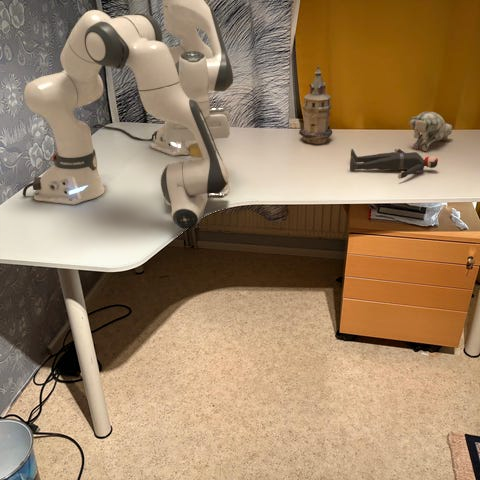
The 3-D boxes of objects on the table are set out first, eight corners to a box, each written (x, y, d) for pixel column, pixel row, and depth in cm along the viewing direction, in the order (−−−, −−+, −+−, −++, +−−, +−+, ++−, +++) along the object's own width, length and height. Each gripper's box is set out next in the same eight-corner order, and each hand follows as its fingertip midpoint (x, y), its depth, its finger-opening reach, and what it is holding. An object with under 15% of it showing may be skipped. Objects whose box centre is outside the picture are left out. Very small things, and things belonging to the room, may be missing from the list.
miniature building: (320, 132, 228) (325, 59, 214) (338, 142, 217) (344, 66, 203) (293, 137, 224) (296, 63, 209) (310, 147, 213) (314, 69, 198)
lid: (192, 149, 171) (192, 142, 170) (208, 150, 170) (208, 143, 169) (187, 155, 166) (186, 148, 165) (203, 156, 165) (203, 149, 164)
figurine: (439, 162, 206) (463, 135, 215) (427, 119, 197) (453, 93, 206) (416, 162, 213) (441, 135, 222) (404, 120, 204) (430, 94, 213)
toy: (351, 141, 203) (434, 141, 197) (350, 156, 206) (432, 157, 200) (349, 166, 181) (443, 167, 175) (349, 183, 184) (441, 185, 178)
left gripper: (227, 186, 159) (231, 168, 171) (159, 185, 160) (168, 168, 172) (228, 205, 162) (231, 187, 174) (161, 204, 163) (169, 186, 175)
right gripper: (228, 104, 165) (229, 147, 172) (161, 108, 163) (165, 151, 169) (231, 109, 160) (232, 153, 167) (162, 114, 157) (166, 158, 164)
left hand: (199, 177), depth 173 cm, fingers closed on jar, 5 cm apart
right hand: (197, 152), depth 168 cm, fingers closed on lid, 5 cm apart
